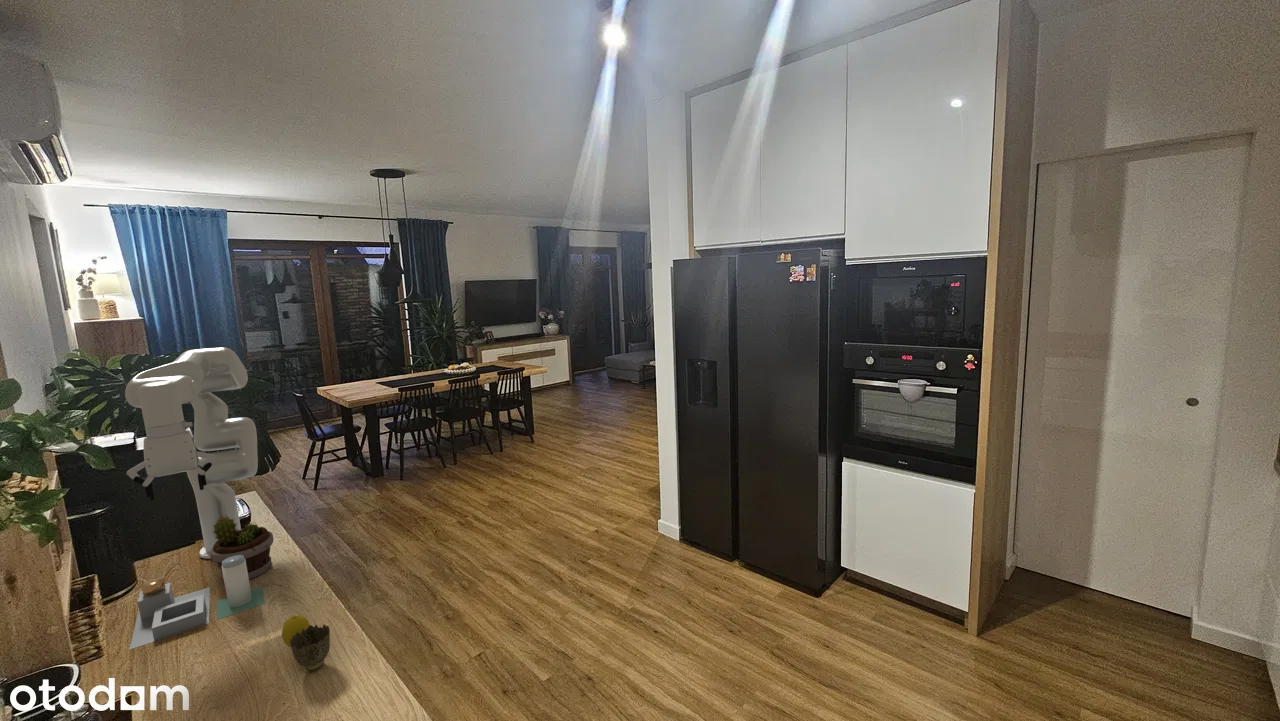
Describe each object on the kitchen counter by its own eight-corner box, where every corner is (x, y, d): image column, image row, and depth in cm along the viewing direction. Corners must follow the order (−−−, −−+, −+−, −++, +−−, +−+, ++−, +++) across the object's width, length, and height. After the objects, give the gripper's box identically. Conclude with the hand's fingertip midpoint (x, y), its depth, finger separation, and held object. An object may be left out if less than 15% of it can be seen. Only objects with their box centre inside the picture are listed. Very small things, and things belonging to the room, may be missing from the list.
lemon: (283, 658, 121) (278, 626, 119) (286, 644, 126) (281, 613, 124) (311, 650, 123) (307, 618, 122) (313, 636, 128) (309, 605, 127)
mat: (217, 604, 142) (216, 600, 142) (263, 589, 148) (262, 586, 148) (217, 623, 134) (216, 619, 134) (265, 606, 140) (265, 603, 140)
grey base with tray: (139, 612, 140) (135, 591, 139) (210, 590, 149) (206, 570, 148) (130, 653, 124) (125, 630, 123) (209, 626, 133) (205, 604, 132)
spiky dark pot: (341, 655, 121) (337, 624, 120) (319, 680, 114) (314, 647, 113) (310, 654, 122) (306, 622, 121) (286, 679, 115) (281, 645, 113)
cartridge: (229, 601, 142) (221, 559, 140) (252, 593, 144) (244, 552, 143) (228, 610, 138) (220, 566, 136) (252, 602, 140) (244, 560, 138)
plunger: (146, 605, 139) (142, 582, 138) (169, 598, 142) (164, 576, 141) (145, 613, 136) (140, 590, 135) (167, 606, 138) (163, 583, 137)
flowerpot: (283, 557, 165) (274, 495, 162) (269, 583, 151) (258, 517, 148) (227, 567, 160) (216, 504, 157) (206, 595, 146) (194, 527, 143)
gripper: (209, 420, 144) (220, 480, 147) (121, 434, 134) (134, 498, 137) (209, 426, 138) (220, 488, 141) (117, 441, 128) (131, 508, 131)
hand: (178, 493), depth 139 cm, fingers open, 9 cm apart
